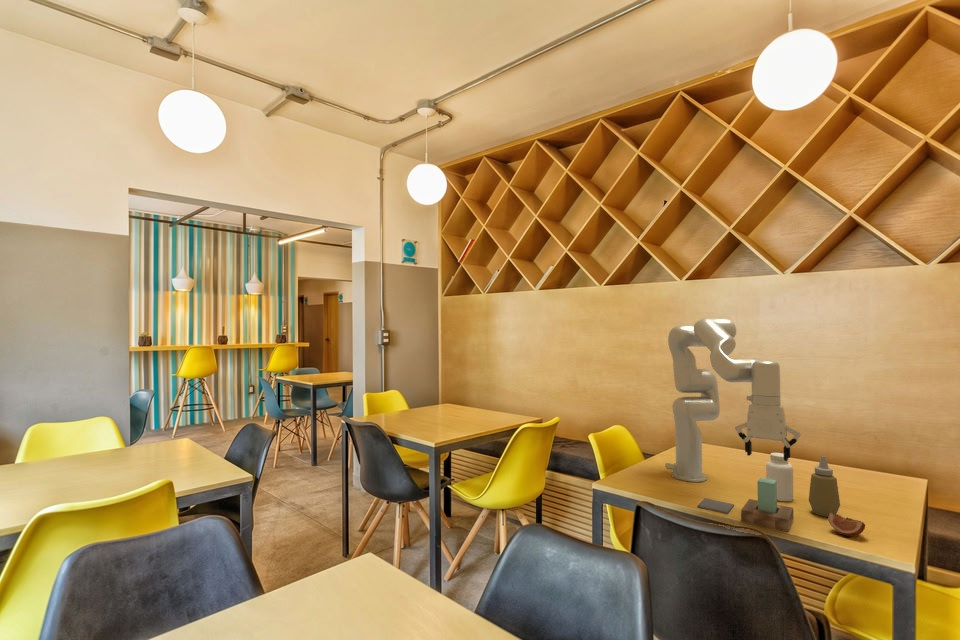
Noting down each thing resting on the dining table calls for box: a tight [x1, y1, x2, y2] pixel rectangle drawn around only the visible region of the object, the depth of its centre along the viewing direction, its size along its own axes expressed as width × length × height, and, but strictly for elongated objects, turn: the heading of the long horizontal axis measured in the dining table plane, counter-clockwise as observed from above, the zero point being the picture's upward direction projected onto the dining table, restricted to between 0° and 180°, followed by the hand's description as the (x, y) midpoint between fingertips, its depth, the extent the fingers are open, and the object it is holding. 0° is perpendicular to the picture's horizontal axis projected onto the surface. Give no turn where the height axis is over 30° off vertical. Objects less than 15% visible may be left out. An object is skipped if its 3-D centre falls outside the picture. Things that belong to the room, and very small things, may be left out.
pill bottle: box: [765, 452, 794, 502], centre depth 164 cm, size 8×8×15 cm
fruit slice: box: [827, 513, 866, 537], centre depth 135 cm, size 8×7×5 cm
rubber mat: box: [696, 497, 735, 515], centre depth 155 cm, size 9×9×1 cm
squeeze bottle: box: [808, 455, 841, 518], centre depth 149 cm, size 8×8×18 cm
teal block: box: [757, 477, 778, 514], centre depth 144 cm, size 4×4×12 cm
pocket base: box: [740, 498, 794, 533], centre depth 144 cm, size 12×12×4 cm
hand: (767, 457), depth 144 cm, fingers open, 9 cm apart
